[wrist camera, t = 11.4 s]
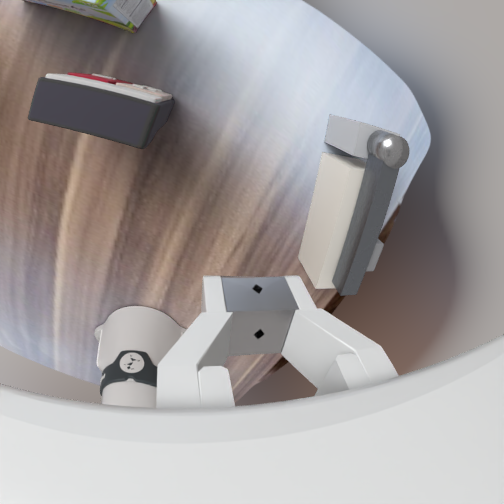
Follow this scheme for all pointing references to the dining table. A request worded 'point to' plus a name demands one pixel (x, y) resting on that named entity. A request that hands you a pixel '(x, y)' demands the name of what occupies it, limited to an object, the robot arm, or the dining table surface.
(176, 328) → the robot arm
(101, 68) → the dining table surface
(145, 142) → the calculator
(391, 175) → the swing bar
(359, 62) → the dining table surface
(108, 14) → the snack box
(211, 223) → the dining table surface
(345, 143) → the post
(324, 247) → the door slab
